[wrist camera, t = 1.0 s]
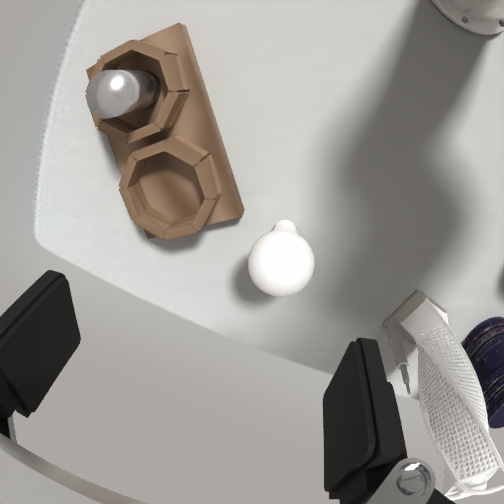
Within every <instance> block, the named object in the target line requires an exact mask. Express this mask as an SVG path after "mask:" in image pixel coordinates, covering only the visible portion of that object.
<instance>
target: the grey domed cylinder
mask: <svg viewBox="0 0 504 504" xmlns="http://www.w3.org/2000/svg"><path fill="white" fill-rule="evenodd" d="M160 93H161V84H160V81H159V79H158V77H157V76H156V75H155V74H154V73H152V72H150V71H147V70H105V71H102V72H100V73H98V74H97V75H96V76H94V78H93V79H92V80H91V82H90V84H89V86H88V89H87V104H88V106H89V109H90V110H91V112H92V113H93V114H94V115H96V116H97V117H99V118H104V119H107V118H112V117H116V116H120V115H124V114H128V113H132V112H136V111H141V110H145V109H148V108H150V107H152V106H153V105H154V104H155V103H156V102H157V101H158V99H159V97H160Z"/></svg>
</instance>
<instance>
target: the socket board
mask: <svg viewBox="0 0 504 504" xmlns="http://www.w3.org/2000/svg"><path fill="white" fill-rule="evenodd" d="M100 58H101V59H98V61H97V63H96V64H95V65H94V66H92V67H90V68H89V69H87V70H86V71H87V75H88V78H89V84H90V82H91V80H92V79H93V78H94V76H96V75H97V74H98V73H100V72H102V71H105V70H147V71H150V72H152V73H154V74H155V75H156V76H157V77H158V79H159V81H160V84H161V93H160V97H159V99H158V101H157V102H156V103H155V104H154V105H153V106H152V107H150V108H148V109H145V110H141V111H136V112H132V113H128V114H124V115H120V116H116V117H112V118H107V119H104V118H99V117H97V116H96V115H94V114H93V113H92V112H91V110H90V112H91V115H92V118H93V121H94V124H95V126H96V127H98V130H100V131H102V132H104V133H106V134H107V136H108V139H109V142H110V145H111V148H112V150H113V153H114V156H115V158H116V161H117V164H118V167H119V169H120V172H121V174H122V178H121V181H120V183H119V187H121V188H120V189H119V191H120V193H121V196H122V198H123V201H124V203H125V206H126V208H127V210H128V213H129V215H130V218H131V220H132V221H133V220H135V221H134V223H135V224H137V225H138V226H140V227H142V228H144V231H145V233H146V235H147V238H148V239H150V238H154V237H159V238H161V239H164V238H165V239H166V240H168V239H173V238H177V237H182V236H186V235H190V234H195V233H198V231H200V230H201V228H202V227H203V226H205V225H210V224H214V223H218V222H223V221H227V220H232V219H237V218H241V217H242V215H243V213H244V211H245V210H244V207H243V204H242V201H241V198H240V195H239V191H238V188H237V185H236V182H235V179H234V176H233V172H232V169H231V166H230V163H229V160H228V157H227V153H226V150H225V147H224V144H223V141H222V138H221V135H220V131H219V128H218V125H217V122H216V119H215V116H214V113H213V110H212V106H211V103H210V100H209V97H208V94H207V91H206V88H205V85H204V81H203V78H202V75H201V72H200V69H199V66H198V63H197V60H196V57H195V53H194V50H193V47H192V44H191V41H190V38H189V35H188V32H187V29H186V26H185V25H183V24H180V23H177V24H175V25H173V26H170V27H168V28H166V29H163V30H161V31H159V32H157V33H154V34H152V35H150V36H148V37H146V38H144V39H142V40H140V41H139V40H130V41H128V42H126V43H124V44H122V45H120V46H118V47H117V48H115V49H113V50H111V51H109V52H108V53H106V54H104V55H102V56H101V57H100ZM89 84H88V86H89ZM87 89H88V87H87ZM87 89H86V93H87ZM85 96H86V99H87V95H85Z"/></svg>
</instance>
